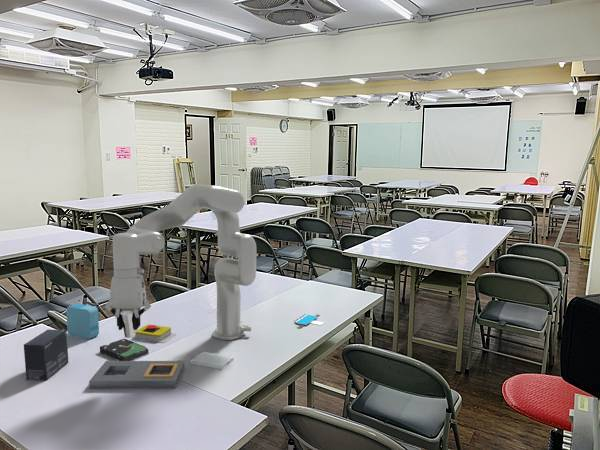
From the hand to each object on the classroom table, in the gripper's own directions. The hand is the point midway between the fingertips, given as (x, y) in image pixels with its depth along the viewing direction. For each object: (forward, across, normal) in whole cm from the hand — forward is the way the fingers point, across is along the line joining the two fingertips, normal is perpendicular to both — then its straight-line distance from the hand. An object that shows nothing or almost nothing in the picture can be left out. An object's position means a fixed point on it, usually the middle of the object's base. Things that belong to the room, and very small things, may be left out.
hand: (128, 327), depth 142 cm
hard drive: (+18, -24, -12) cm, 33 cm away
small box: (+17, +28, -4) cm, 33 cm away
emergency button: (+18, +2, -35) cm, 39 cm away
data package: (+17, +30, -35) cm, 49 cm away
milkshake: (+3, 0, 0) cm, 3 cm away
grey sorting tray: (+17, -3, 0) cm, 17 cm away
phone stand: (+18, -62, -53) cm, 84 cm away
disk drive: (+18, +8, -19) cm, 27 cm away
